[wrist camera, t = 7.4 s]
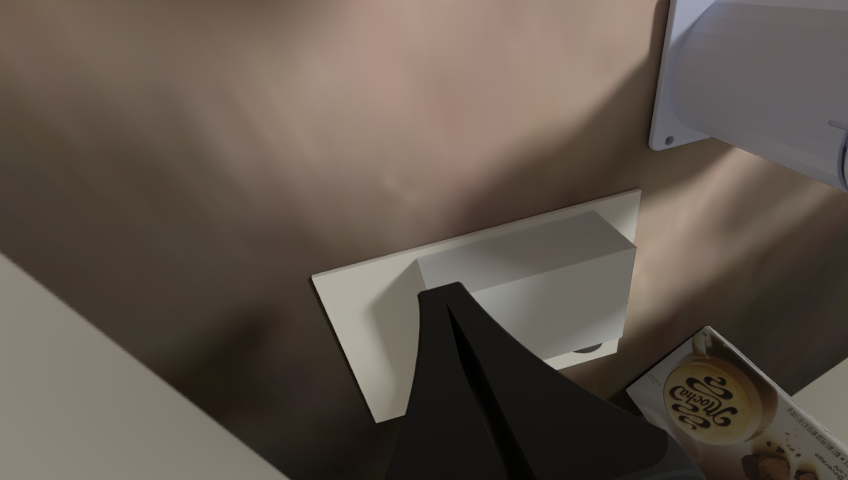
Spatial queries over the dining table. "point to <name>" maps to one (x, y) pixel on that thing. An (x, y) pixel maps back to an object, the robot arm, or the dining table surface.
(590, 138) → the dining table surface
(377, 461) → the dining table surface
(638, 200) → the mat
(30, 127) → the dining table surface
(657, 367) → the coffee box
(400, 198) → the dining table surface
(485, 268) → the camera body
